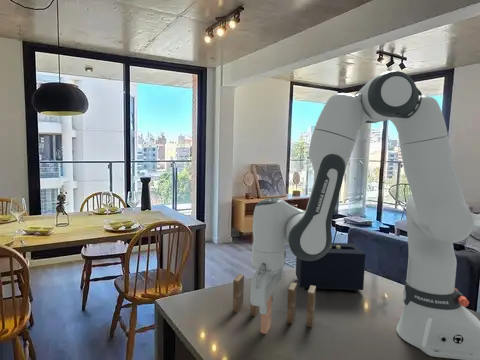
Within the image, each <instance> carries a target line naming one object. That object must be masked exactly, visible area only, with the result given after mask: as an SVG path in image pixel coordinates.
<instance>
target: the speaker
mask: <svg viewBox="0 0 480 360" xmlns="http://www.w3.org/2000/svg"><path fill="white" fill-rule="evenodd" d="M295 258H296V259H295V276H296V279H297V282H298V286H299V288H302V289H304V290H305V291H308V290H309V288H310V285H312V286H316V289H322V290H323V289H325V290H326V289H327V290H345V291H346V290H347V291H348V290H350V291H351V292H353V293H356V292H357V291H363V290H364V287H365V286H364V284H365V266H366V253H365V252H363V251H362V250H361V249H360V248H359V247H358V245H356V244H355V243H354V242H353V243H350V242H349V243H348V242H332V243H331V247H330V249H329V251H328V252H327V254H326V255H325V256H323V257H322V258H320V259H318V260H315V261H304V260H301V259H299V258H298V257H296V256H295Z"/></svg>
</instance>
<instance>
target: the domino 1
mask: <svg viewBox="0 0 480 360" xmlns="http://www.w3.org/2000/svg"><path fill="white" fill-rule="evenodd" d="M232 284H233V285H232V286H233V287H232V288H233V289H232V290H233V291H232V293H233V294H232V312H233V313H236V314H239V312H240V311H241V309H242V308H243V307H244V295H245V294H244V290H245V285H244V284H245V275H244V274H238V275H237V276H236V277H235V278H234V279H233V283H232Z"/></svg>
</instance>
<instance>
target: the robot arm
mask: <svg viewBox="0 0 480 360" xmlns="http://www.w3.org/2000/svg"><path fill="white" fill-rule="evenodd" d="M319 114H320V115H319V117H318V118H317V120H316V122H315V125H314V129H313V131H312V135H311V138H310V142H309V148H308V158H309V160H310V162H311V166H312V169H313V174H314V177H313V184H312V185H313V186H312V189H311V190H310V191H311V193H310V196H309V198H308V201H307V204H306V209H305V210H304V209H301V208H298V207H295V206H293V205H292V204H290V203H288V202H286V201H285V200H284V199H283V198H280V197H270V198H266V199H265V198H264V199H262V200H260V201H259V202H257V204H255V207H254V210H253V216H252V217H253V218H252V235H253V242H252V245H251V266H253V267H254V268H255V272H254V273H253V275H252V278H251V283H250V295H249V296H250V297H249V301H250V305H251V304H252V305H254V306H259V307H260V310H259V314H260V315H261V314H266V313H267V308H268V306H267V301H268V299H269V298H270V296H271V294H272V303H273V302H274V297H275V296H274V295H275V291H276V287H277V286H278V285H279V283H280V281H281V280H282V276H283V271H284V267H285V263H286V262H285V261H286V259H285V258H286V257H287V250H286V246H289V249H290V251H291V252H292V254H293V255H294V256H295V258H296V257H298V258H299V259H301V260H304V261H315V260H318V259H320V258H322V257H323V256H325V255H326V254H327V252H328V251H329V249H330V247H331V243H333V242H332V241H333V236H332V233H333V232H332V221H333V217H334V213H335V209H336V206H337V203H338V199H339V195H340V192H341V189H342V185H343V181H344V177H345V173H346V170H347V166H348V164H349V161H350V160H351V159H350V158H351V156H352V153H353V151H354V147H355V145H356V143H357V139H358V136H359V133H360V130H361V128H362V127H363V126H364V124H365V123H366V124H377V123H379V122H381V123H382V122H385V121H390V122H391V123H392V124H393V126H394V127H395V128H396V133H397V135H398V142H399V147H400V154H401V160H402V166H403V171H404V175H405V178H406V180H407V183H408V186H409V188H410V191H411V195H410V196H409V197H408V199H407V201H406V204H405V210H406V229H407V230H406V232H407V245H408V246H407V248H408V258H407V261H408V262H407V271H406V272H407V273H406V280H405V281H404V286H403V296H402V300H403V305H402V306H403V307H402V312H401V315H400V319H399V321H398V324H397V326H396V328H395V329H396V333H397V334H398V336H399V337H400V338H401V339H403V340H404V341H405V342H407V343H408V344H410V345H412V346H413V347H416V348H418V349H420V350H421V351H422V352H423V353H425V354H426V355H428V356H430V357H435V358H445V359H452V360H453V359H454V360H480V320H479V318H478V317H477V316H475V314H473V313H472V312H471V311H469V310H468V309H467V308H466V307H468V306H469V304H470V301H469V300H468V299H467V297H466V296H464V295H463V293H462V292H460V291H459V290H458V288H456V287H455V286H456V277H457V276H456V275H457V263H458V262H457V260H458V259H457V256H456V254H455V249H454V243H458V242H462V241H463V240H465V239H466V238H467V237H469V236H470V235H471V233H472V232H473V230H474V226H475V219H474V215H473V214H472V212H471V210H470V208H469V206H468V204H467V201H466V199H465V196H464V192H463V188H462V187H461V184H460V181H459V179H458V176H457V173H456V170H455V167H454V162H453V156H452V150H451V146H450V140H449V136H448V135H449V134H448V129H447V125H446V121H445V117H444V114H443V112H442V109H441V107H440V104H439V102H438V101H437V99H435V98H434V97H432V96H427V95H423V94H422V92H421V91H420V89H418V87H417V84H416V83H415V81H414V80H413V78H411V76H410V75H408V73H405V72H403V71H399V70H389V71H384V72H382V73H380V74H378V75H377V76H376V77H374V78H371V79H370V80H369V81H367V82H366V84H365V85H363V86H362V87H361V88H360V89H359V90H358V91H357V92H355V94H351V93H347V92H346V93H345V92H340V93H334V94H333V95H331V96H330V97H329V98H328V99H327V101H326V103H324V106H323V108H322V110H321V111H320V113H319Z"/></svg>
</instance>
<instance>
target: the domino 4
mask: <svg viewBox="0 0 480 360" xmlns="http://www.w3.org/2000/svg"><path fill="white" fill-rule="evenodd" d="M297 286H298V283H297V282H291V283H290V284H289V287H288V288H287V307H286V308H287V309H286V311H287V312H286V313H287V314H286V323H287V324H294V321H295V318H296V315H297V293H298V292H297V290H298V287H297Z"/></svg>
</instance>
